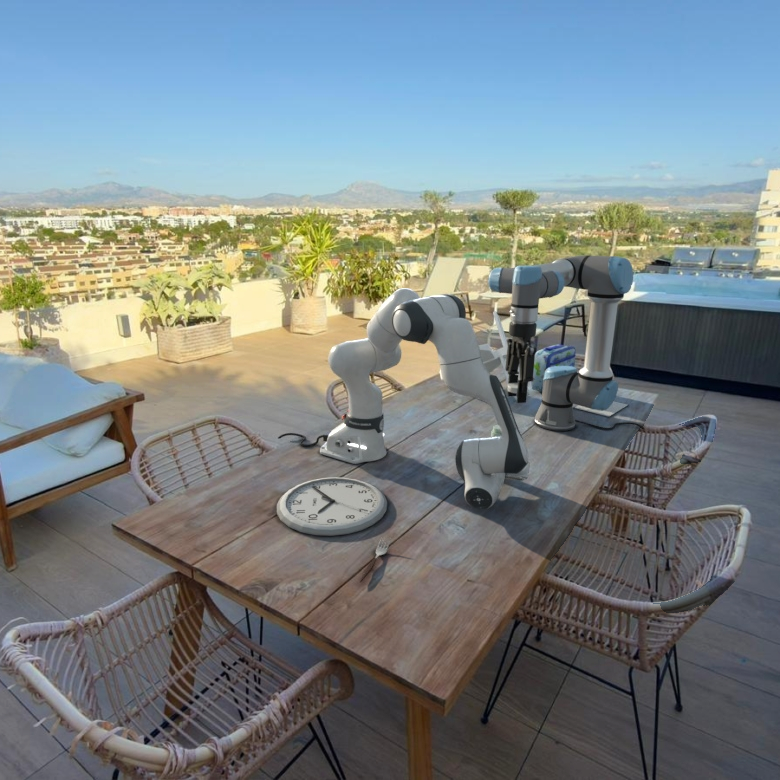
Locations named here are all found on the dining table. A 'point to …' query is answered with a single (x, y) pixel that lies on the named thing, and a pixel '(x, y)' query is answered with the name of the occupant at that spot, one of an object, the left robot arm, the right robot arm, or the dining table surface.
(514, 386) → the lid
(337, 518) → the wall clock
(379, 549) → the fork
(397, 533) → the dining table surface
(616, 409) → the invitation card
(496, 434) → the jar
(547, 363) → the lunch box
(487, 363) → the white plastic object
